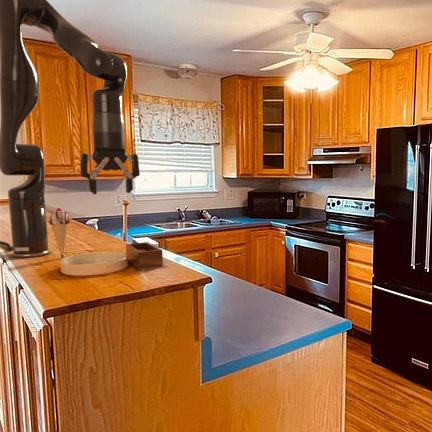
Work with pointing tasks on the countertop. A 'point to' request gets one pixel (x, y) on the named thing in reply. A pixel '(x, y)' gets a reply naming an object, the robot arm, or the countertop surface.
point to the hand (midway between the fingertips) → (111, 193)
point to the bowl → (94, 263)
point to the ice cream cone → (60, 228)
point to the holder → (144, 255)
